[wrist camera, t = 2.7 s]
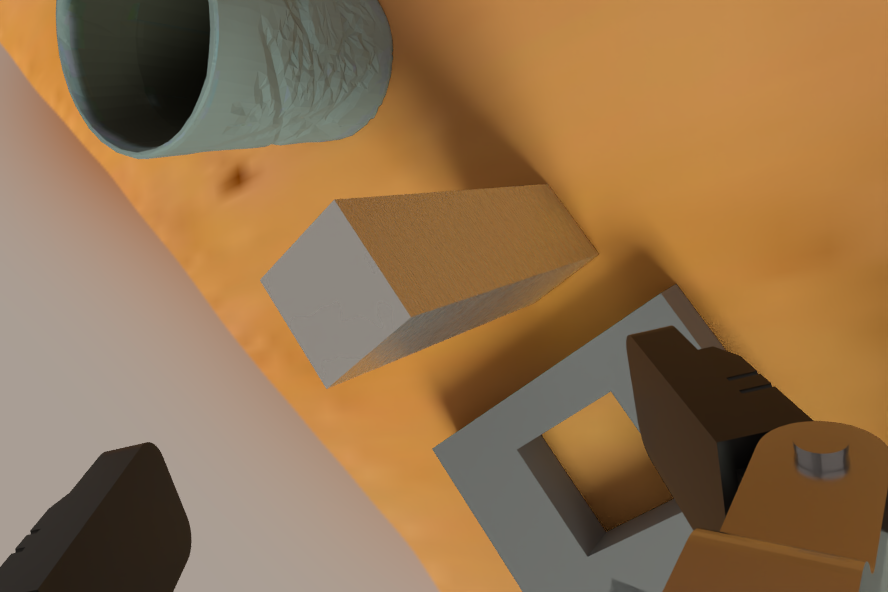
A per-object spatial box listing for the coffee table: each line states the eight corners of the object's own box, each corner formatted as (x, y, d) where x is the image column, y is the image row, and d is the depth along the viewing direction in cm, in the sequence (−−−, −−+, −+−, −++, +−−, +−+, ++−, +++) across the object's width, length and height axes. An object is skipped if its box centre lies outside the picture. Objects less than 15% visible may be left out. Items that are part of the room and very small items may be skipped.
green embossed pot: (437, 20, 34) (250, -38, 24) (352, 196, 38) (164, 209, 28) (300, -73, 37) (85, -159, 27) (237, 98, 42) (31, 79, 32)
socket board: (457, 432, 37) (429, 450, 35) (676, 283, 30) (659, 294, 28) (662, 751, 34) (647, 793, 32) (963, 670, 27) (971, 718, 24)
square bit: (488, 235, 34) (260, 280, 22) (547, 183, 32) (334, 199, 20) (534, 302, 34) (326, 388, 21) (598, 254, 32) (411, 317, 19)
